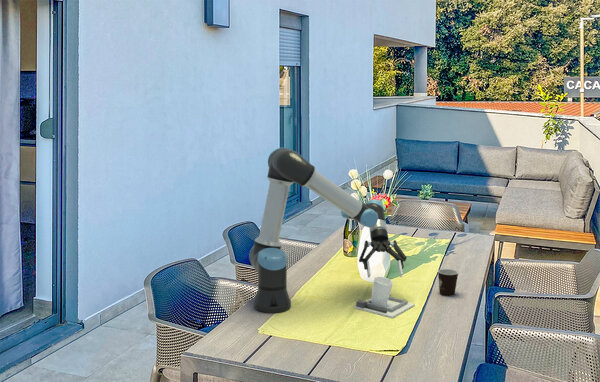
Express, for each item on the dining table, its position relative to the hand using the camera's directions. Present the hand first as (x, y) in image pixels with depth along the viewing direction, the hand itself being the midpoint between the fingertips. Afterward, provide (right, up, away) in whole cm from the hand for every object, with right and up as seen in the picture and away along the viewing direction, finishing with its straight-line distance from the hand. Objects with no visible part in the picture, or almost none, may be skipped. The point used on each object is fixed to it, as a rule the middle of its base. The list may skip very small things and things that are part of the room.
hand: (385, 275), depth 261 cm
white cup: (-3, -11, -2) cm, 12 cm away
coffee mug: (+29, -10, +15) cm, 34 cm away
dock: (0, -12, -2) cm, 12 cm away
